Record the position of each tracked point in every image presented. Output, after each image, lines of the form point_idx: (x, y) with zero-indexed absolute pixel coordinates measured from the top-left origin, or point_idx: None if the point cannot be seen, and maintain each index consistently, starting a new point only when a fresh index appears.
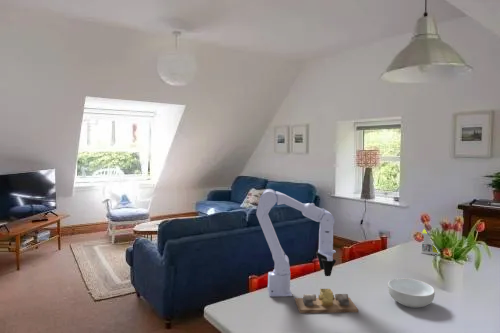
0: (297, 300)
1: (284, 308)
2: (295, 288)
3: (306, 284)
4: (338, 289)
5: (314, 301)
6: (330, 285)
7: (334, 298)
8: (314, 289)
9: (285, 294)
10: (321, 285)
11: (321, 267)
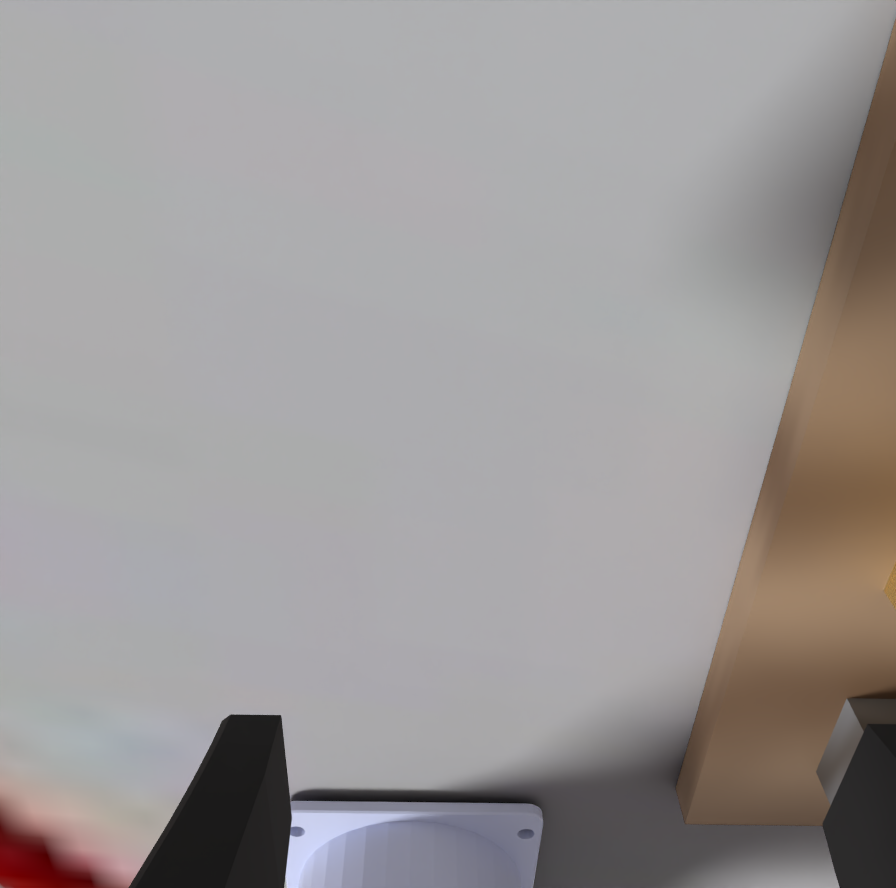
0: (759, 813)
1: (828, 884)
2: None
3: (64, 580)
4: (251, 18)
5: (862, 655)
6: (21, 150)
7: (869, 339)
8: (280, 509)
9: (516, 871)
10: (62, 347)
11: (278, 870)
